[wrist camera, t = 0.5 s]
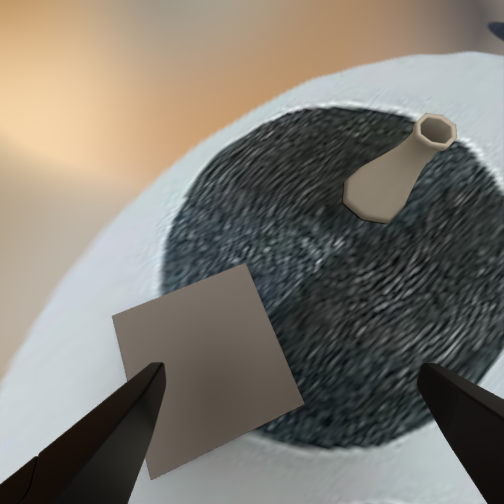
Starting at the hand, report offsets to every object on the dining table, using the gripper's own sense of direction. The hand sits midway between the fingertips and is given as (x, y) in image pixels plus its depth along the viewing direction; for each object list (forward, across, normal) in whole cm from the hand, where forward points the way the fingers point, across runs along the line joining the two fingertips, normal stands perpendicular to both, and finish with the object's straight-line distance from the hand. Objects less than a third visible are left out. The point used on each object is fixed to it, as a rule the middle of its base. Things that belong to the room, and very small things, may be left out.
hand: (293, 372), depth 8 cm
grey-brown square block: (+12, +6, +10) cm, 16 cm away
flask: (+22, -13, -5) cm, 26 cm away
